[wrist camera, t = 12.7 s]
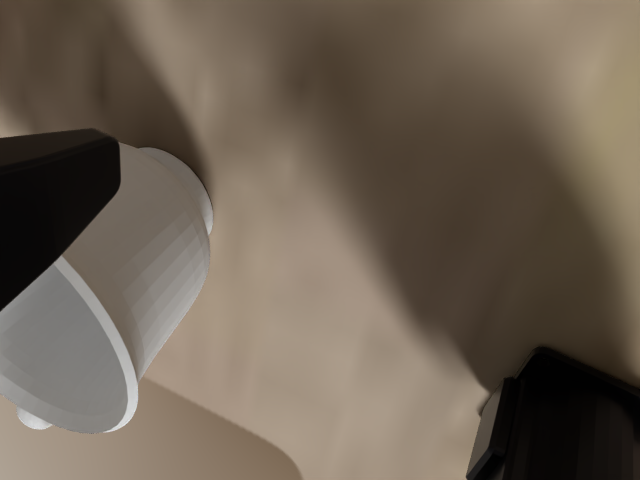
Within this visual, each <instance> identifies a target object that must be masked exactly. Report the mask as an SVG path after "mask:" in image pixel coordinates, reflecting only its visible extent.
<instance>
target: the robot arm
mask: <svg viewBox="0 0 640 480" xmlns="http://www.w3.org/2000/svg"><path fill="white" fill-rule="evenodd" d="M120 184H121V162H120V145H119V142H118V140H117V139H116V138H115V137H113V136H111V135H109V134H107V133H105V132H102V131H100V130H98V129H93V128H89V129H80V130H70V131H61V132H52V133H42V134H33V135H23V136H14V137H5V138H0V312H1V311H2V310H3V309H4V308H5V307H6V306H7V305H8V304H10V303H11V302H12V301H13V300H14V299H15V298H16V297H17V296H18V295H19V294H21V293H22V292H23V291H24V290H25V289H26V288H27V287H28V286H29V285H30V284H32V283H33V282H34V281H35V280H36V279H37V278H38V277H39V276H40V275H41V274H43V273H44V272H45V271H46V270H47V269H48V268H49V267H50V266H51V265H52V264H53V263H54V262H55V261H56V260H57V259H58V258H59V257H60V256H61V255H62V254H63V253H64V252H65V251H66V250H67V249H68V248H69V247H70V246H71V244H72V243H73V242H74V241H75V240H76V239H77V238H78V237H79V236H80V234H81V233H82V232H83V231H84V230H85V229H86V228H87V227H88V225H89V224H90V223H91V222H92V221H93V220H94V219H95V218H96V216H97V215H98V214H99V213H100V212H101V211H102V210H103V209H104V207H105V206H106V205H107V204H108V203H109V202H110V201H111V200H112V199H113V197H114V196H115V195H116V193H117V192H118V190H119V187H120ZM540 358H546V359H547V360H541V359H540ZM466 478H467V480H640V390H639V389H637V388H635V387H633V386H630V385H628V384H626V383H624V382H622V381H620V380H617V379H615V378H613V377H611V376H609V375H607V374H604V373H602V372H600V371H598V370H596V369H594V368H591V367H589V366H587V365H585V364H583V363H580V362H578V361H576V360H574V359H572V358H570V357H567V356H565V355H563V354H561V353H559V352H557V351H554V350H552V349H550V348H547V347H537V348H535V349H534V350H533V351H532V352H531V354H530V355H529V357H528V358H527V359H526V361H525V362H524V364H523V365H522V367H521V368H520V369H519V371H518V372H517V374H516V375H515V377H514V378H513V377H511V376H509V377H506V378H504V379H503V381H502V382H501V383H500V385H499V386H498V388H497V389H496V391H495V392H494V394H493V395H492V397H491V398H490V400H489V401H488V403H487V404H486V405H485V407H484V409H483V413H482V416H481V420H480V424H479V428H478V432H477V435H476V439H475V443H474V447H473V451H472V455H471V458H470V462H469V466H468V470H467V474H466Z"/></svg>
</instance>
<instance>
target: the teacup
mask: <svg viewBox="0 0 640 480" xmlns="http://www.w3.org/2000/svg"><path fill="white" fill-rule="evenodd" d="M119 145H120V162H121V184H120V187H119V190H118V192H117V193H116V195H115V196H114V197H113V199H112V200H111V201H110V202H109V203H108V204H107V205H106V206H105V207H104V209H103V210H102V211H101V212H100V213H99V214H98V215H97V216H96V218H95V219H94V220H93V221H92V222H91V223H90V224H89V225H88V227H87V228H86V229H85V230H84V231H83V232H82V233H81V234H80V236H79V237H78V238H77V239H76V240H75V241H74V242H73V243H72V244H71V246H70V247H69V248H68V249H67V250H66V251H65V252H64V253H63V254H62V255H61V256H60V257H59V258H58V259H57V260H56V261H55V262H54V263H53V264H52V265H51V266H50V267H49V268H48V269H47V270H46V271H45V272H44V273H43V274H41V275H40V276H39V277H38V278H37V279H36V280H35V281H34V282H33V283H32V284H30V285H29V286H28V287H27V288H26V289H25V290H24V291H23V292H22V293H21V294H19V295H18V296H17V297H16V298H15V299H14V300H13V301H12V302H11V303H10V304H8V305H7V306H6V307H5V308H4V309H3V310H2V311H1V312H0V394H1V395H3V396H4V397H5V398H7V399H8V400H10V401H11V402H13V403H14V404H16V405H17V408H16V410H17V415H18V417H19V419H20V420H21V421H22V422H23V423H24V424H25V425H27V426H28V427H31V428H33V429H45V428H48V427H50V426H52V425H55V426H58V427H61V428H64V429H67V430H70V431H74V432H79V433H89V434H90V433H91V434H92V433H103V432H111V431H114V430H117V429H119V428H121V427H123V426H124V425H126V424H127V423H128V422H129V420H130V419H131V418H132V417H133V415H134V413H135V410H136V407H137V402H138V383H139V381H140V379H141V378H142V376H143V375H144V373H145V371H146V370H147V368H148V367H149V365H150V364H151V362H152V360H153V359H154V357H155V356H156V354H157V353H158V352H159V350H160V349H161V348H162V346H163V345H164V343H165V342H166V341H167V339H168V338H169V337H170V335H171V334H172V332H173V331H174V330H175V328H176V327H177V325H178V324H179V323H180V321H181V320H182V319H183V317H184V316H185V314H186V313H187V312H188V310H189V309H190V307H191V305H192V304H193V302H194V301H195V299H196V297H197V296H198V294H199V292H200V290H201V288H202V286H203V283H204V281H205V279H206V276H207V272H208V268H209V263H210V243H209V234H210V232H211V230H212V225H213V210H212V205H211V202H210V199H209V196H208V194H207V192H206V190H205V188H204V186H203V184H202V183H201V181H200V180H199V178H198V177H197V176H196V175H195V173H194V172H193V171H192V170H191V169H190V168H189V167H188V166H187V165H186V164H185V163H183V162H182V161H181V160H179V159H178V158H176V157H175V156H173V155H171V154H170V153H167V152H165V151H163V150H160V149H156V148H151V147H145V148H138V149H137V148H135V147H133V146H129V145H126V144H123V143H120V142H119Z"/></svg>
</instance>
